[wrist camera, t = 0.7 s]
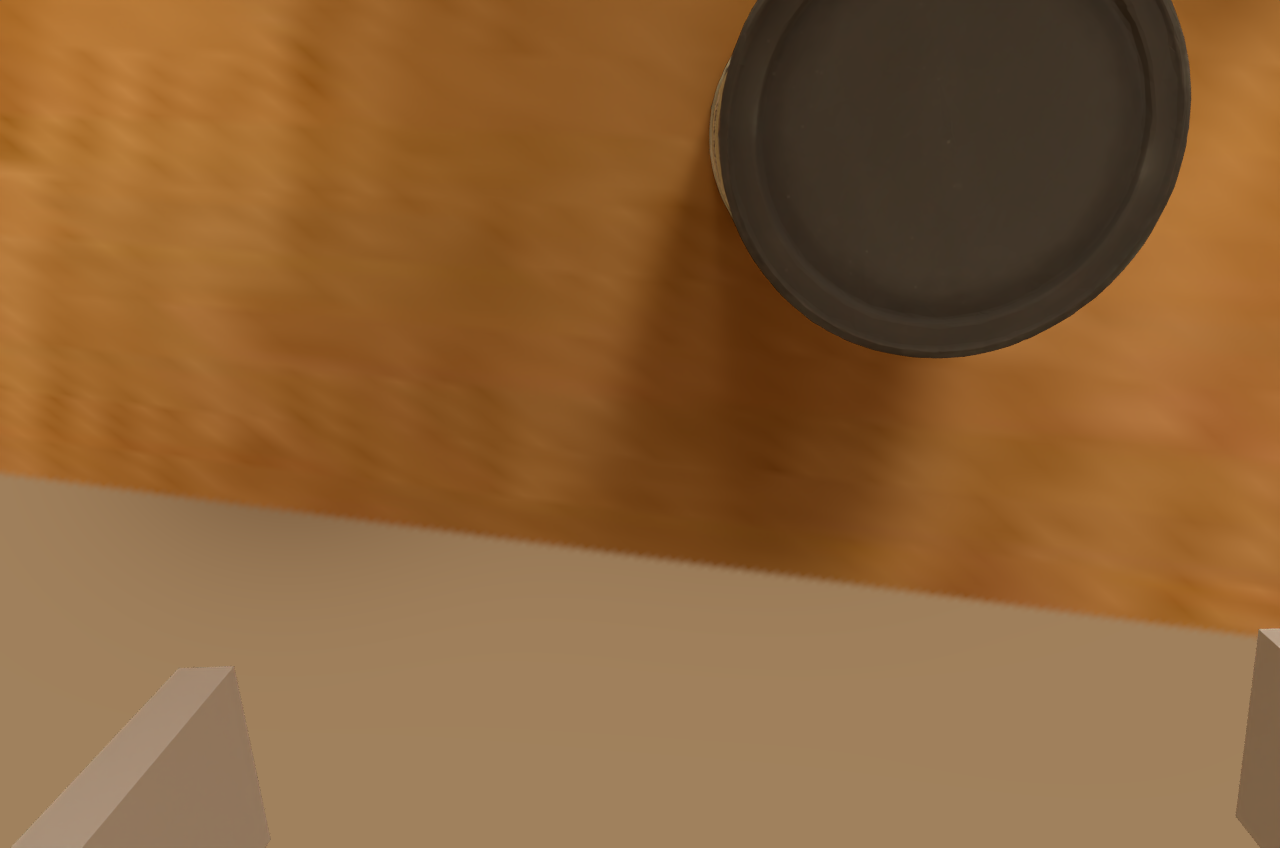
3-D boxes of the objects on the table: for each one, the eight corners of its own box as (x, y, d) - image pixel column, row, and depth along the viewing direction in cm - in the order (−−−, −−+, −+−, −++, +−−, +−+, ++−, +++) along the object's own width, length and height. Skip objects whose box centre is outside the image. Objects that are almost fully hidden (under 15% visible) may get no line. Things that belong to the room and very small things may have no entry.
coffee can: (1049, 179, 36) (1271, 207, 22) (797, 328, 38) (858, 438, 24) (913, -88, 33) (1066, -240, 20) (653, 85, 35) (630, 54, 22)
